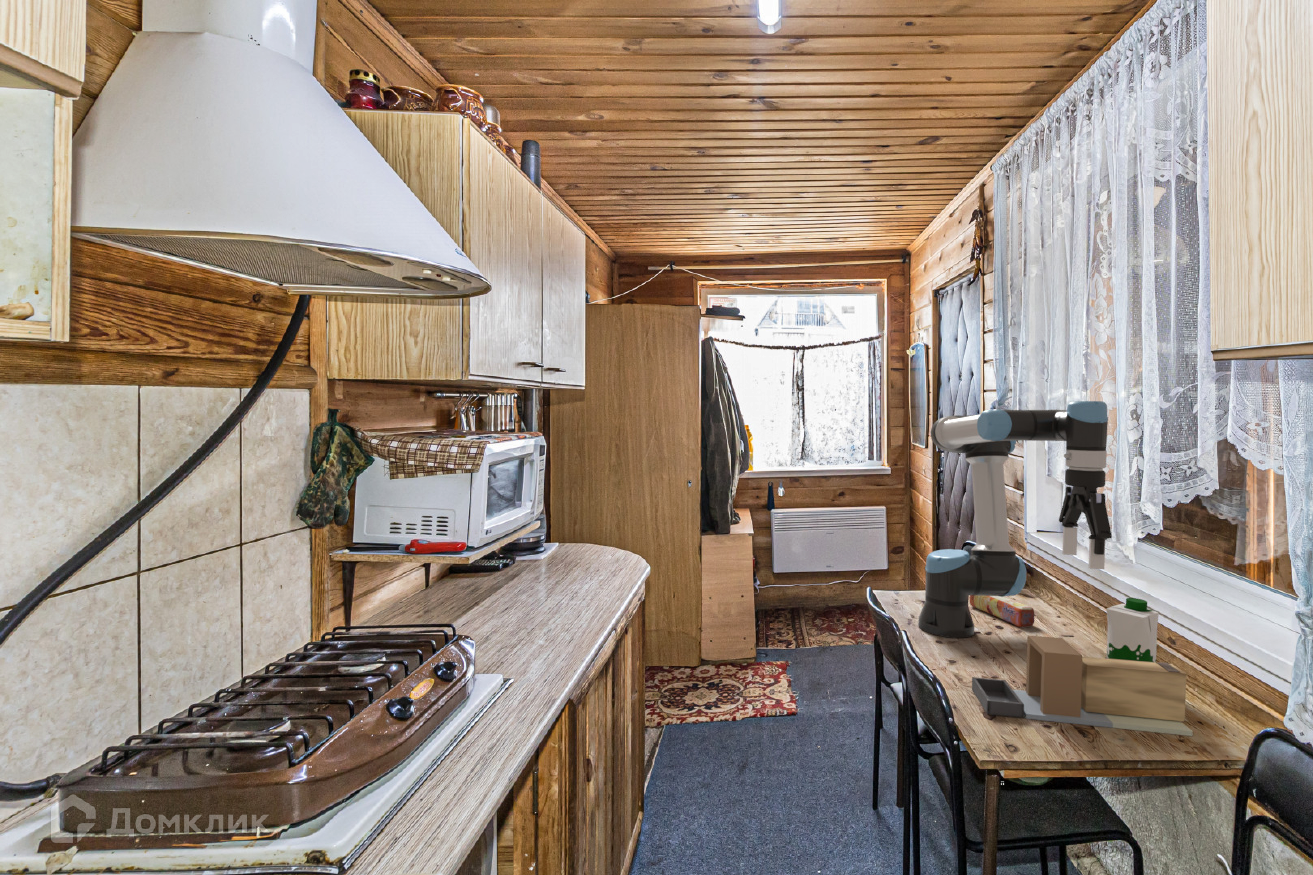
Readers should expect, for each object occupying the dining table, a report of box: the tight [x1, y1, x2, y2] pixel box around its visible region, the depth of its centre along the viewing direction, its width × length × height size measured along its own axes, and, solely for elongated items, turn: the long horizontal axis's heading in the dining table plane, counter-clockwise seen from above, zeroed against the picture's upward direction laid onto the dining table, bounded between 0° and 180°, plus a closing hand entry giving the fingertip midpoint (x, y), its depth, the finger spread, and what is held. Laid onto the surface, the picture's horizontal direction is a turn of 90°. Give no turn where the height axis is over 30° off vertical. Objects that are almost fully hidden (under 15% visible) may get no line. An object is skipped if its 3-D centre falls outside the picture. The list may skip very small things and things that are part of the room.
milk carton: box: [1106, 597, 1159, 663], centre depth 145 cm, size 9×9×20 cm
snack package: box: [969, 595, 1035, 629], centre depth 194 cm, size 21×7×7 cm, turn 13°
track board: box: [1012, 634, 1194, 737], centre depth 131 cm, size 12×30×14 cm, turn 77°
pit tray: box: [971, 676, 1025, 719], centre depth 136 cm, size 12×7×3 cm, turn 167°
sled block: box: [1081, 655, 1187, 722], centre depth 130 cm, size 5×18×10 cm, turn 77°
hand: (1082, 561), depth 140 cm, fingers open, 13 cm apart
